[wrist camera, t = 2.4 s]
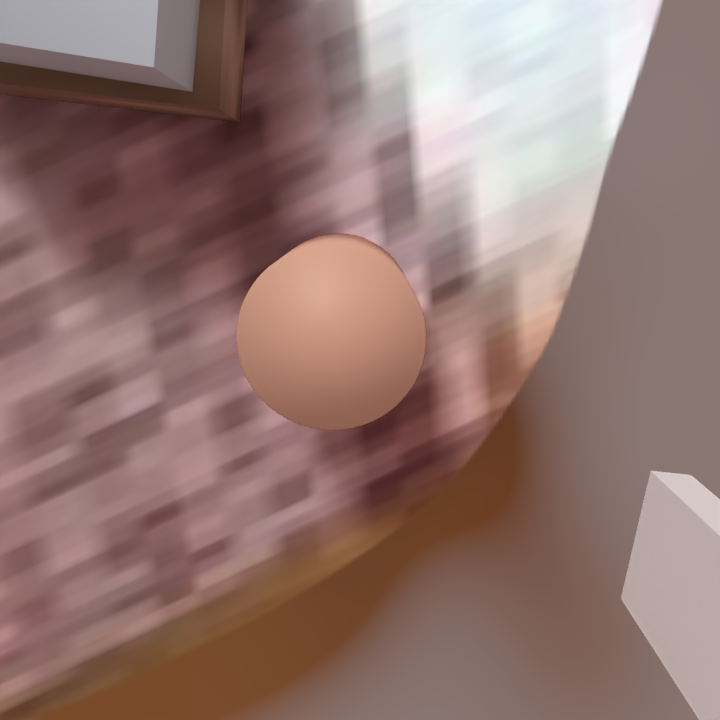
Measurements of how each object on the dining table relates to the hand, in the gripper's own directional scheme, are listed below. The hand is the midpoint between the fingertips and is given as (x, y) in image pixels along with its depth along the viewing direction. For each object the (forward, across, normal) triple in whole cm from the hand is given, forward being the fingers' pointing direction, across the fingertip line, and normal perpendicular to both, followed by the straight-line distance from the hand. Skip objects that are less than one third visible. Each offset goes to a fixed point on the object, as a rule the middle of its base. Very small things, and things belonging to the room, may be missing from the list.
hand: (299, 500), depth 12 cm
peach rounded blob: (+22, 0, 0) cm, 22 cm away
